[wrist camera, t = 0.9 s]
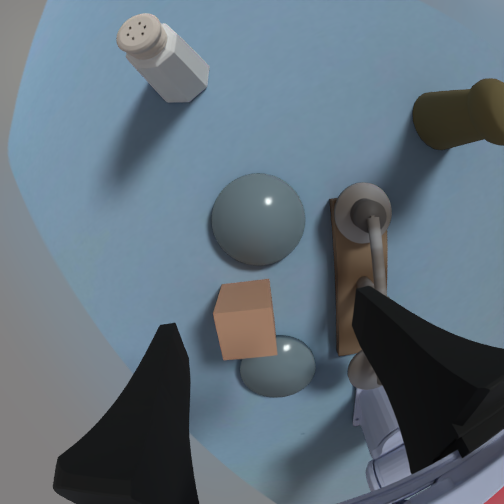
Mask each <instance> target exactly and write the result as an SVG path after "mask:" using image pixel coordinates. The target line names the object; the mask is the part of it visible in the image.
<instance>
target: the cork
mask: <svg viewBox="0 0 504 504" xmlns="http://www.w3.org/2000/svg"><path fill="white" fill-rule="evenodd" d="M413 122H414V125H415V129H416V131H417V133H418V134H419V136H420V138H421V139H422V140H423V141H424V142H425V143H426V144H427V145H428V146H430V147H432V148H433V149H437V150H445V149H449V148H452V147H456V146H460V145H464V144H468V143H471V142H475V141H479V140H483V139H485V140H486V141H488V142H490V143H493V144H496V145H504V83H503V82H501V81H499V80H497V79H483V80H480V81H479V82H477V83H476V84H475V85H473V86H472V88H471V89H466V90H450V91H439V92H429V93H424V94H422V95H421V96H419V97H418V99H417V100H416V102H415V103H414V108H413Z"/></svg>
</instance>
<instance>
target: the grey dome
mask: <svg viewBox="0 0 504 504" xmlns="http://www.w3.org/2000/svg"><path fill="white" fill-rule="evenodd" d="M304 227H305V213H304V208H303V205H302V202H301V200H300V198H299V196H298V195H297V193H296V192H295V191H294V189H293V188H292V187H291V186H290V185H288V184H287V183H286V182H284V181H283V180H281V179H279V178H277V177H275V176H272V175H268V174H260V173H256V174H249V175H245V176H242V177H239V178H238V179H236V180H234V181H232V182H231V183H229V184H228V185H227V186H226V187H225V188H224V189H223V190H222V191H221V193H220V194H219V196H218V197H217V199H216V201H215V204H214V207H213V211H212V228H213V232H214V235H215V238H216V240H217V242H218V243H219V245H220V246H221V248H222V249H223V250H224V251H225V252H226V253H227V254H228V255H229V256H231V257H232V258H234V259H235V260H237V261H240V262H242V263H245V264H249V265H268V264H272V263H275V262H277V261H279V260H281V259H283V258H285V257H286V256H287V255H289V254H290V253H291V252H292V251H293V250H294V249H295V247H296V246H297V245H298V243H299V241H300V239H301V237H302V235H303V231H304Z"/></svg>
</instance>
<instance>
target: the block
mask: <svg viewBox="0 0 504 504" xmlns="http://www.w3.org/2000/svg"><path fill="white" fill-rule="evenodd" d="M213 316H214V321H215V325H216V330H217V334H218V338H219V343H220V347H221V351H222V356H223V360H233V359H245V358H256V357H265V356H274V355H277V343H276V332H275V321H274V313H273V305H272V297H271V289H270V281H269V279H263V280H255V281H247V282H238V283H230V284H222V286H221V289H220V292H219V295H218V299H217V302H216V305H215V309H214V312H213Z"/></svg>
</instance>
